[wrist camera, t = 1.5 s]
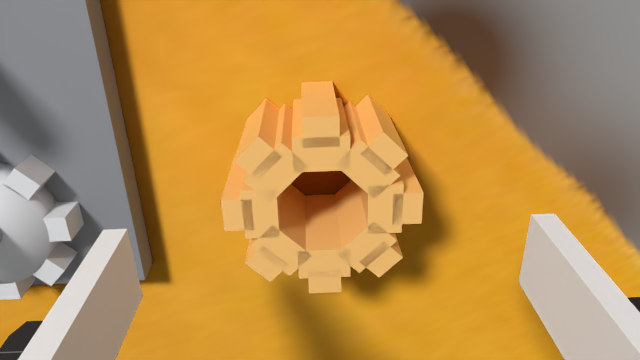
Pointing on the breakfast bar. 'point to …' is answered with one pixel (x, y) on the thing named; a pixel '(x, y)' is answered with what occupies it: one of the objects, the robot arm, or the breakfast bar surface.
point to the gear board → (60, 145)
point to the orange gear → (321, 210)
